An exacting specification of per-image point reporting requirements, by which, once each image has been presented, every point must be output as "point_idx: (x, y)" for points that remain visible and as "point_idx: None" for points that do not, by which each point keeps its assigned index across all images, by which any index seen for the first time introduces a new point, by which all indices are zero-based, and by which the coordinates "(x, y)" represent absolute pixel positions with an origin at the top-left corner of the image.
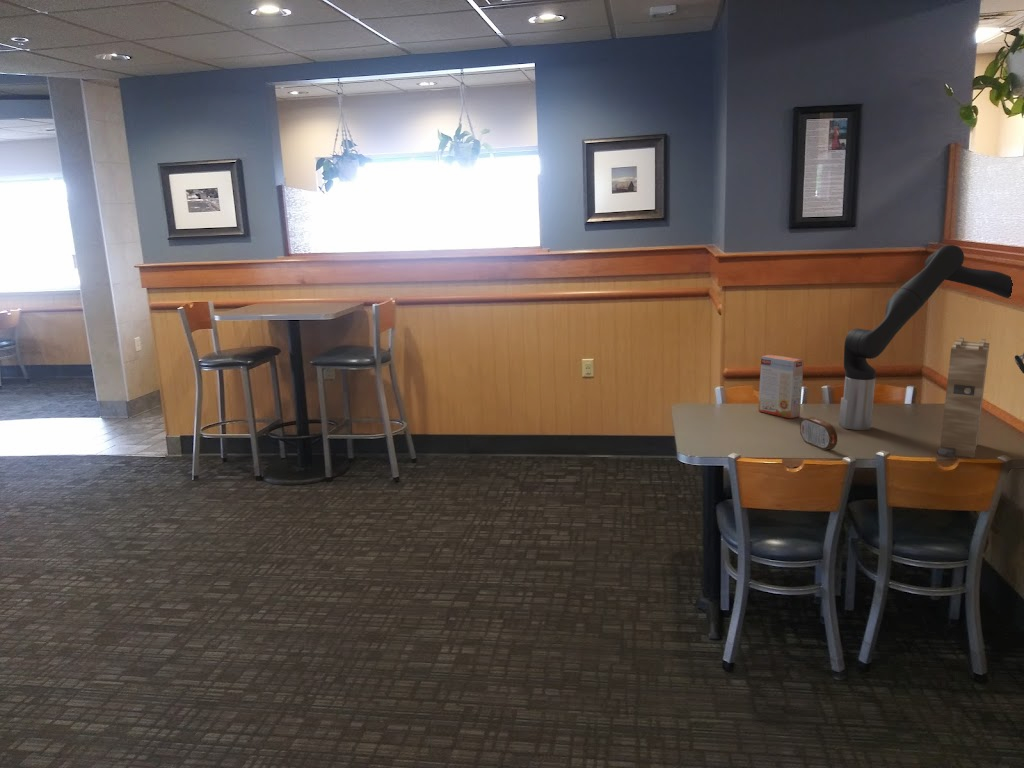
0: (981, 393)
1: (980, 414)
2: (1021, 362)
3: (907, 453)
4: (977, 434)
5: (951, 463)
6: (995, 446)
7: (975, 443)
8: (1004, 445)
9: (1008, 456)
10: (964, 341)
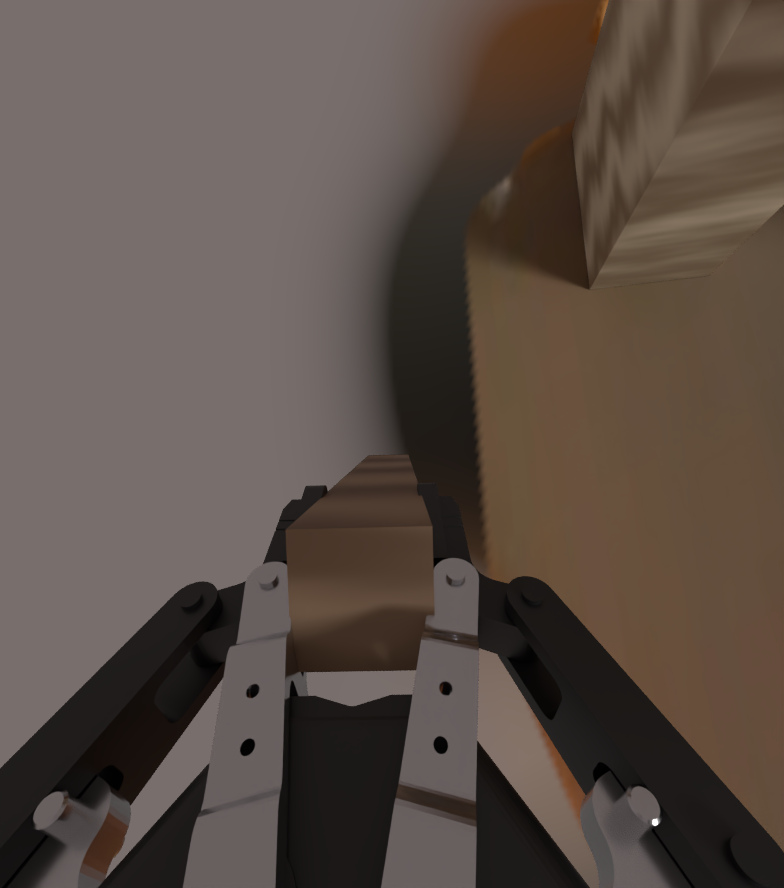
0: None
1: (638, 153)
2: (594, 690)
3: None
4: (600, 151)
5: None
6: (529, 299)
7: (586, 81)
8: (504, 329)
9: (482, 211)
10: None
